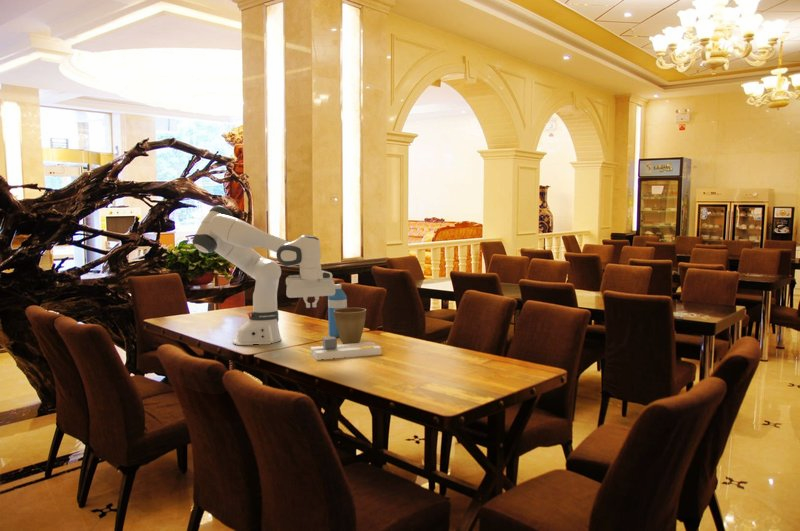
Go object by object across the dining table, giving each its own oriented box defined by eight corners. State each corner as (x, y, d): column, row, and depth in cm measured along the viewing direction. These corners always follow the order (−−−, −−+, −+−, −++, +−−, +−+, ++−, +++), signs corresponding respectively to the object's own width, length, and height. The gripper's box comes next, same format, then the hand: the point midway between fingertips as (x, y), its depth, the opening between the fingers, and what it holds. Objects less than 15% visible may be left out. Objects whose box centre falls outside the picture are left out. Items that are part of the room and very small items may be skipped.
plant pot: (363, 340, 294) (363, 306, 292) (369, 346, 279) (368, 311, 278) (332, 341, 291) (331, 307, 289) (336, 348, 276) (335, 313, 275)
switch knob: (325, 353, 260) (325, 339, 259) (322, 350, 265) (322, 337, 264) (336, 352, 262) (336, 338, 261) (334, 349, 266) (333, 336, 266)
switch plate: (316, 360, 255) (316, 352, 255) (310, 353, 267) (310, 346, 266) (381, 354, 265) (381, 346, 265) (372, 348, 276) (372, 341, 276)
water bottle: (349, 333, 311) (348, 283, 308) (345, 336, 301) (344, 285, 299) (330, 332, 312) (329, 283, 309) (326, 336, 302) (325, 285, 300)
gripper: (286, 276, 251) (287, 310, 252) (336, 274, 258) (336, 307, 259) (284, 274, 257) (285, 307, 258) (332, 272, 264) (333, 304, 265)
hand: (311, 307), depth 259 cm, fingers closed
